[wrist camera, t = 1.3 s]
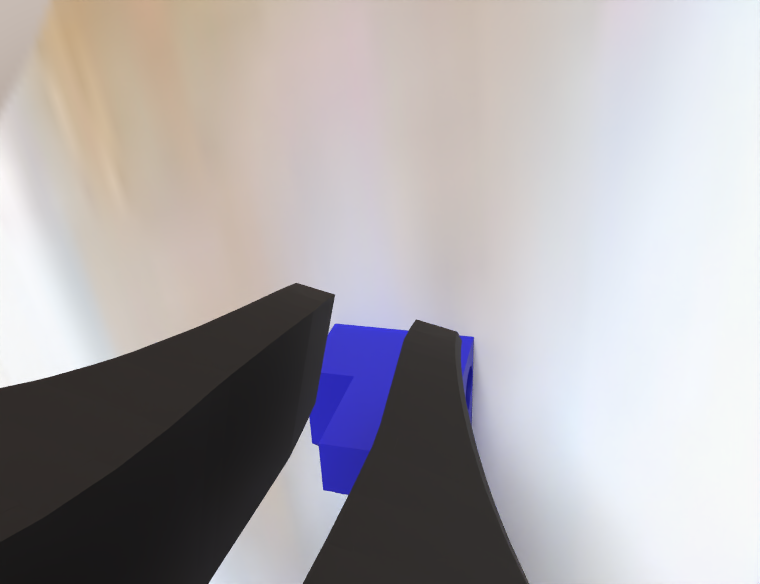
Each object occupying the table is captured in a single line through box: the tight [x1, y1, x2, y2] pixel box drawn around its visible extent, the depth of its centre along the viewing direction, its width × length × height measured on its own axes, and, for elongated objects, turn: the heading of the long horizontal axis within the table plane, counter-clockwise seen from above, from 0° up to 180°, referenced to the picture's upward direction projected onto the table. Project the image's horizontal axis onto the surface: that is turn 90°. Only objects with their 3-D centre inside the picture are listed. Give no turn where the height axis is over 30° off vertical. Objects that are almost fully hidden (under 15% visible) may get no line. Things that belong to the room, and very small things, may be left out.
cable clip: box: [309, 324, 474, 495], centre depth 22 cm, size 12×4×6 cm, turn 2°
